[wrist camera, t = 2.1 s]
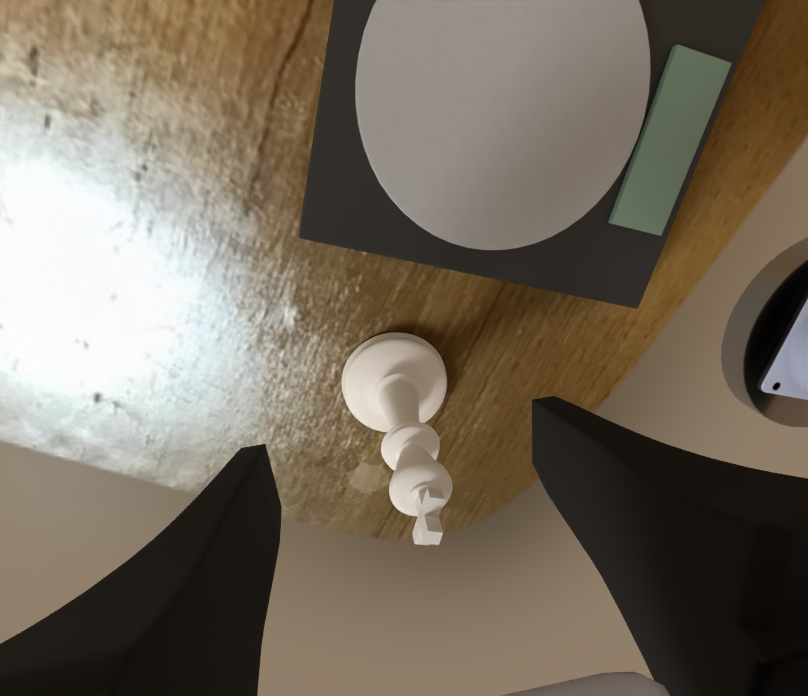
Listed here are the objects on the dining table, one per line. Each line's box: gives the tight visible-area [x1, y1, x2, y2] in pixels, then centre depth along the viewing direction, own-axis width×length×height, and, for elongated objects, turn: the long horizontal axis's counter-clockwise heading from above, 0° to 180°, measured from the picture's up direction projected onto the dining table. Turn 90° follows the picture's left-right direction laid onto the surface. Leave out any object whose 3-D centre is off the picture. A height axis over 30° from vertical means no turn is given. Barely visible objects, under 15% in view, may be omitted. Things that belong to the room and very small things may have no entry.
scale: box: [299, 0, 765, 308], centre depth 17 cm, size 14×12×3 cm
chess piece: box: [342, 332, 452, 545], centre depth 18 cm, size 5×5×10 cm
